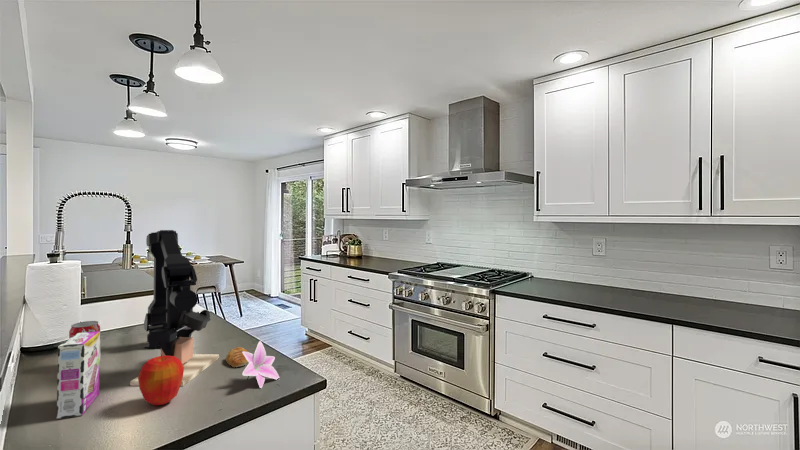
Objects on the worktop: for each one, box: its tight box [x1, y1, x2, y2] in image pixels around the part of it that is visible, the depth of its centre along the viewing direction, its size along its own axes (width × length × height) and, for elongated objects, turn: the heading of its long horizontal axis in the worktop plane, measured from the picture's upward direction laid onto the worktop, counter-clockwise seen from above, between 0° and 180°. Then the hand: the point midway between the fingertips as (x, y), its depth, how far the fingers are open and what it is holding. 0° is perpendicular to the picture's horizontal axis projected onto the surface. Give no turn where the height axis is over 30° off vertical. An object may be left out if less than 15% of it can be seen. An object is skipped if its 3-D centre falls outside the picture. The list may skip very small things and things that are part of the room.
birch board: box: [129, 353, 220, 387], centre depth 109 cm, size 20×14×1 cm
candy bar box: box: [56, 330, 101, 420], centre depth 88 cm, size 11×5×16 cm, turn 23°
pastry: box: [225, 346, 249, 368], centre depth 116 cm, size 9×7×4 cm
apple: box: [137, 353, 184, 406], centre depth 90 cm, size 9×9×12 cm
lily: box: [241, 340, 280, 389], centre depth 103 cm, size 12×12×10 cm
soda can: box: [68, 320, 102, 361], centre depth 111 cm, size 7×7×13 cm
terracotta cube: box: [160, 336, 194, 364], centre depth 110 cm, size 6×6×6 cm
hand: (177, 356), depth 110 cm, fingers closed on terracotta cube, 6 cm apart
